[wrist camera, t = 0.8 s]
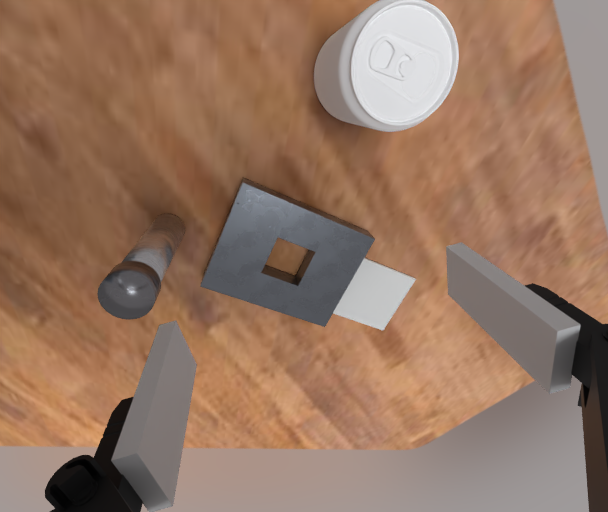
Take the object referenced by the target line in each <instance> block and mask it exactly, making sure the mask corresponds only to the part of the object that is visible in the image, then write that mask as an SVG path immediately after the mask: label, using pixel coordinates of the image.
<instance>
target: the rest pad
mask: <svg viewBox="0 0 608 512" xmlns="http://www.w3.org/2000/svg"><path fill="white" fill-rule="evenodd" d="M415 280H416V279H415V278H414V277H411V276H409V275H407V274H404V273H402V272H399V271H397V270H394V269H392V268H389V267H387V266H384V265H382V264H379V263H377V262H374V261H372V260H370V259H367V258H365V257H364V259H363V261H362V263H361V265H360V266H359V268H358V270H357V272H356V273H355V275H354V277H353V279H352V280H351V282H350V284H349V286H348V287H347V289H346V291H345V293H344V294H343V296H342V298H341V300H340V301H339V303H338V305H337V307H336V308H335V310H334V312H333V314H336V315H339V316H342V317H345V318H348V319H351V320H354V321H357V322H360V323H363V324H366V325H368V326H371V327H374V328H377V329H380V330H384V328H385V327H386V325H387V324H388V322H389V320H390V319H391V317H392V316H393V314H394V313H395V311H396V310H397V308H398V306H399V305H400V303H401V302H402V300H403V299H404V297H405V295H406V294H407V292H408V291H409V289H410V288H411V286H412V284H413V283H414V281H415Z"/></svg>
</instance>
